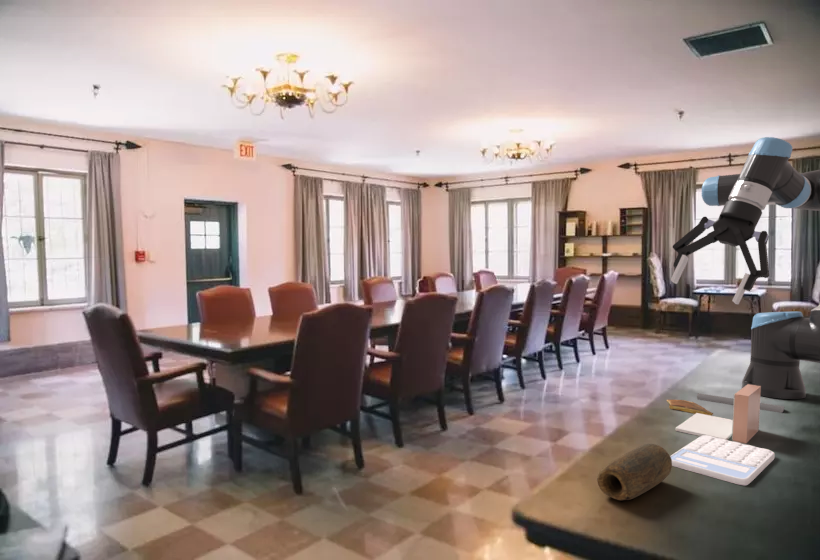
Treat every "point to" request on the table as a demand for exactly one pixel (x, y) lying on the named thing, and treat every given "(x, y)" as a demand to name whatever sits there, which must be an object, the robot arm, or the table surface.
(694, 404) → the shard
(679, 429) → the white rectangular slab
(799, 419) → the table surface
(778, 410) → the gray half cylinder
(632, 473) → the stone weight
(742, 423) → the terracotta tile
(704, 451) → the calculator
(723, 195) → the robot arm
